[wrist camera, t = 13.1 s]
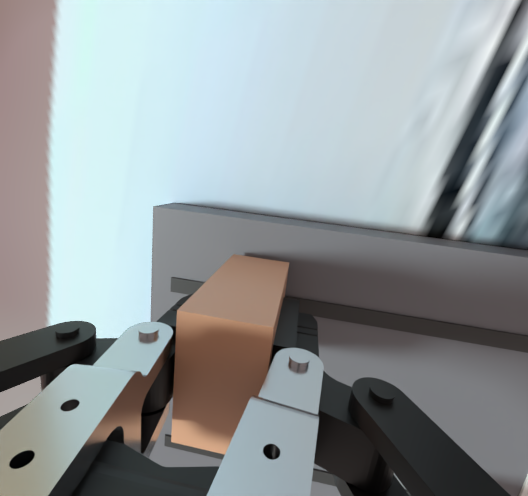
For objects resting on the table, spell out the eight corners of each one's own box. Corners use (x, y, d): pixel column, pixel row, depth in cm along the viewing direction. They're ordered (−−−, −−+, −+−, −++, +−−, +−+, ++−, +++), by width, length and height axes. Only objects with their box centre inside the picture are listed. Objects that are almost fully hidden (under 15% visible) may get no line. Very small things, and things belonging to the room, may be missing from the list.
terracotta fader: (225, 337, 14) (170, 441, 8) (233, 254, 13) (177, 310, 7) (277, 347, 13) (255, 461, 8) (289, 262, 12) (273, 327, 7)
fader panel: (163, 453, 19) (146, 486, 17) (173, 203, 15) (152, 206, 13) (500, 534, 17) (526, 583, 15) (614, 262, 13) (672, 277, 11)
